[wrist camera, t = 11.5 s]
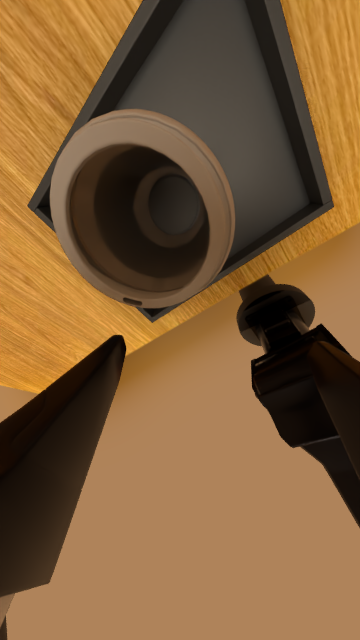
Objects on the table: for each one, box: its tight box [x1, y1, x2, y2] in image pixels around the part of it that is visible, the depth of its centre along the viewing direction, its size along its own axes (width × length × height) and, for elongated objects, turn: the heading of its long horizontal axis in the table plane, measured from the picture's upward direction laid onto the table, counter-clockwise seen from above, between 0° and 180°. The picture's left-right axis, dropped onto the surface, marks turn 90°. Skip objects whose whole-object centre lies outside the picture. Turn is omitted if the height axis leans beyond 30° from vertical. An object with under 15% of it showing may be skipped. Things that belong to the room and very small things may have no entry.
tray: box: [27, 0, 334, 323], centre depth 15 cm, size 15×19×3 cm
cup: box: [50, 109, 235, 308], centre depth 11 cm, size 7×7×12 cm
